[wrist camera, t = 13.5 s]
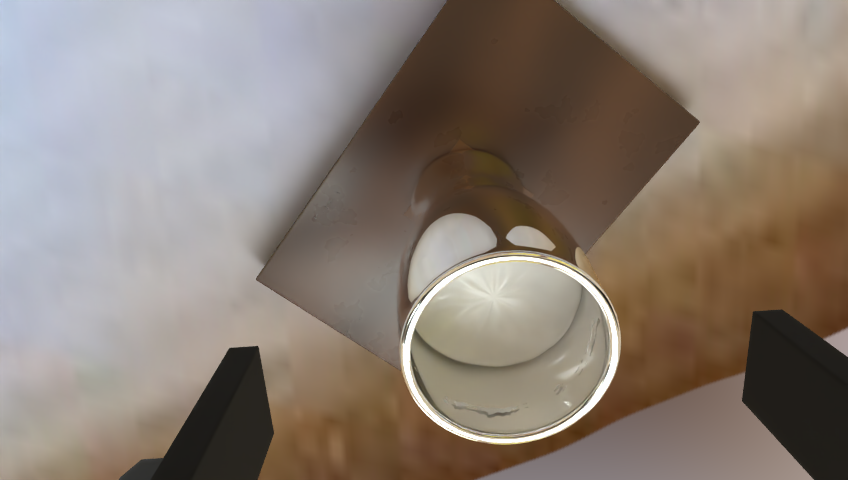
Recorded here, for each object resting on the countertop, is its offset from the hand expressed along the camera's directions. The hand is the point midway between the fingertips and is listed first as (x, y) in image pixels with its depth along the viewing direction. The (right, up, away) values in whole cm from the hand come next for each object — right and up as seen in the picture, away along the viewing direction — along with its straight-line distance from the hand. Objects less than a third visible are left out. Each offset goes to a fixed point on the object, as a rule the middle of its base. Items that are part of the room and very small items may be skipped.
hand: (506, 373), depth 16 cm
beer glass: (0, +5, +16) cm, 17 cm away
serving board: (0, +6, +18) cm, 19 cm away
